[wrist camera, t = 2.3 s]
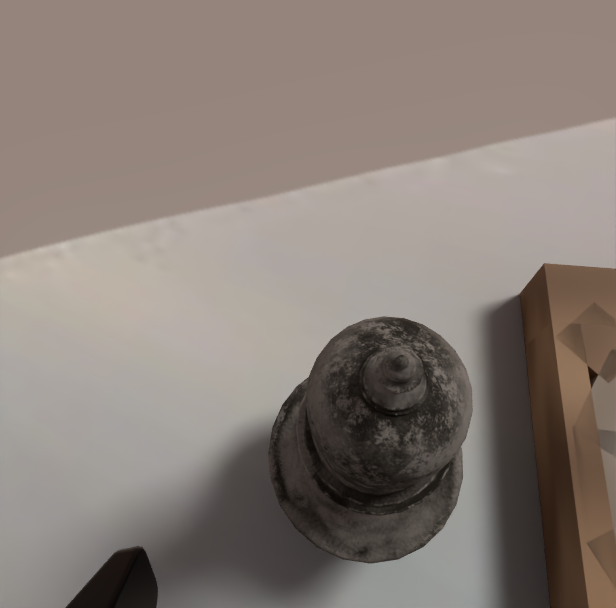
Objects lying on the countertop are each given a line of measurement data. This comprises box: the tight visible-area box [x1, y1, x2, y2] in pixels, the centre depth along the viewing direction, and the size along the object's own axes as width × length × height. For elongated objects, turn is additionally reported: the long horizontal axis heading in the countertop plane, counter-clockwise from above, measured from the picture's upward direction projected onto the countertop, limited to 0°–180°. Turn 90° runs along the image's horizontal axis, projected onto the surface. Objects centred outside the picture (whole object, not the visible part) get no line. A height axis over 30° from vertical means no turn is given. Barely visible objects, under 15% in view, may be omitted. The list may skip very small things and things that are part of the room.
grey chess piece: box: [269, 317, 473, 563], centre depth 11 cm, size 6×6×12 cm
